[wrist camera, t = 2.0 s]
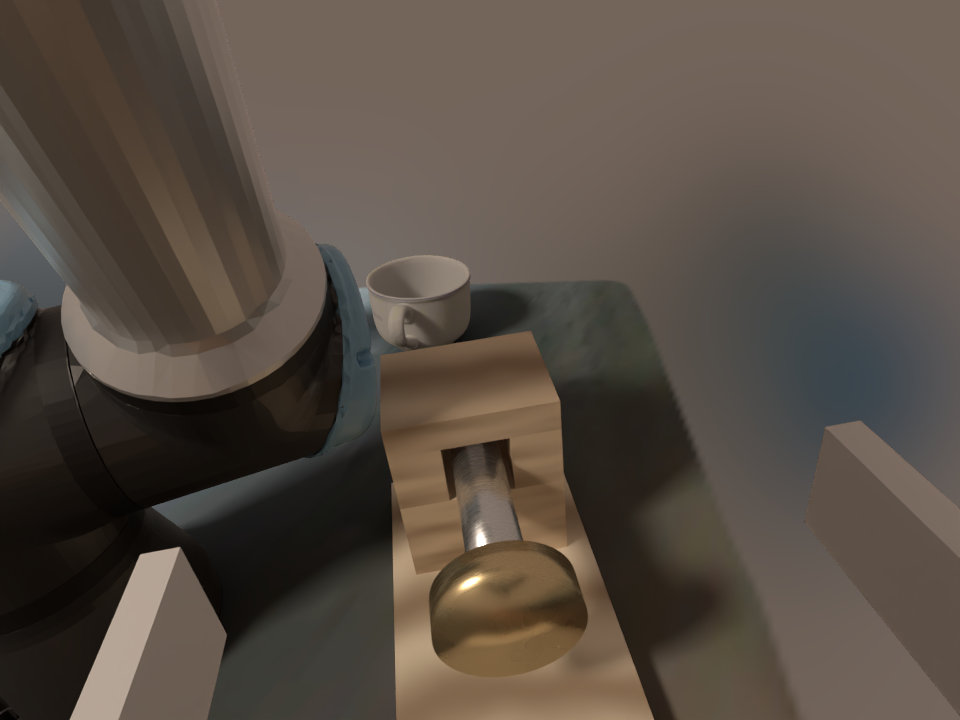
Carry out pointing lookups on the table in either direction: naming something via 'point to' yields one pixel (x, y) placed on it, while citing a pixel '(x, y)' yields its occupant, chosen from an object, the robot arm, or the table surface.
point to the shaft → (501, 582)
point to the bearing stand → (438, 535)
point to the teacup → (420, 301)
